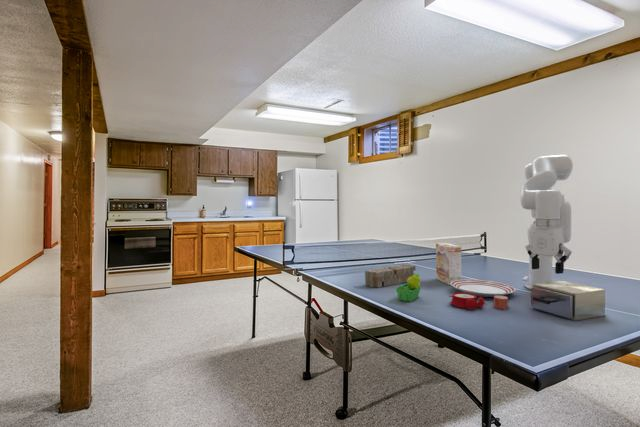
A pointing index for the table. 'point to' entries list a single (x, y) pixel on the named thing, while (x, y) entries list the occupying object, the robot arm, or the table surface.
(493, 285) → the dinner plate
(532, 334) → the table surface
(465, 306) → the alarm clock
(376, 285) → the block tower
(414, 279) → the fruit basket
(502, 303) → the orange glossy cylinder
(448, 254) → the coffeecake box
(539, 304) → the handled box
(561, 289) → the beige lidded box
